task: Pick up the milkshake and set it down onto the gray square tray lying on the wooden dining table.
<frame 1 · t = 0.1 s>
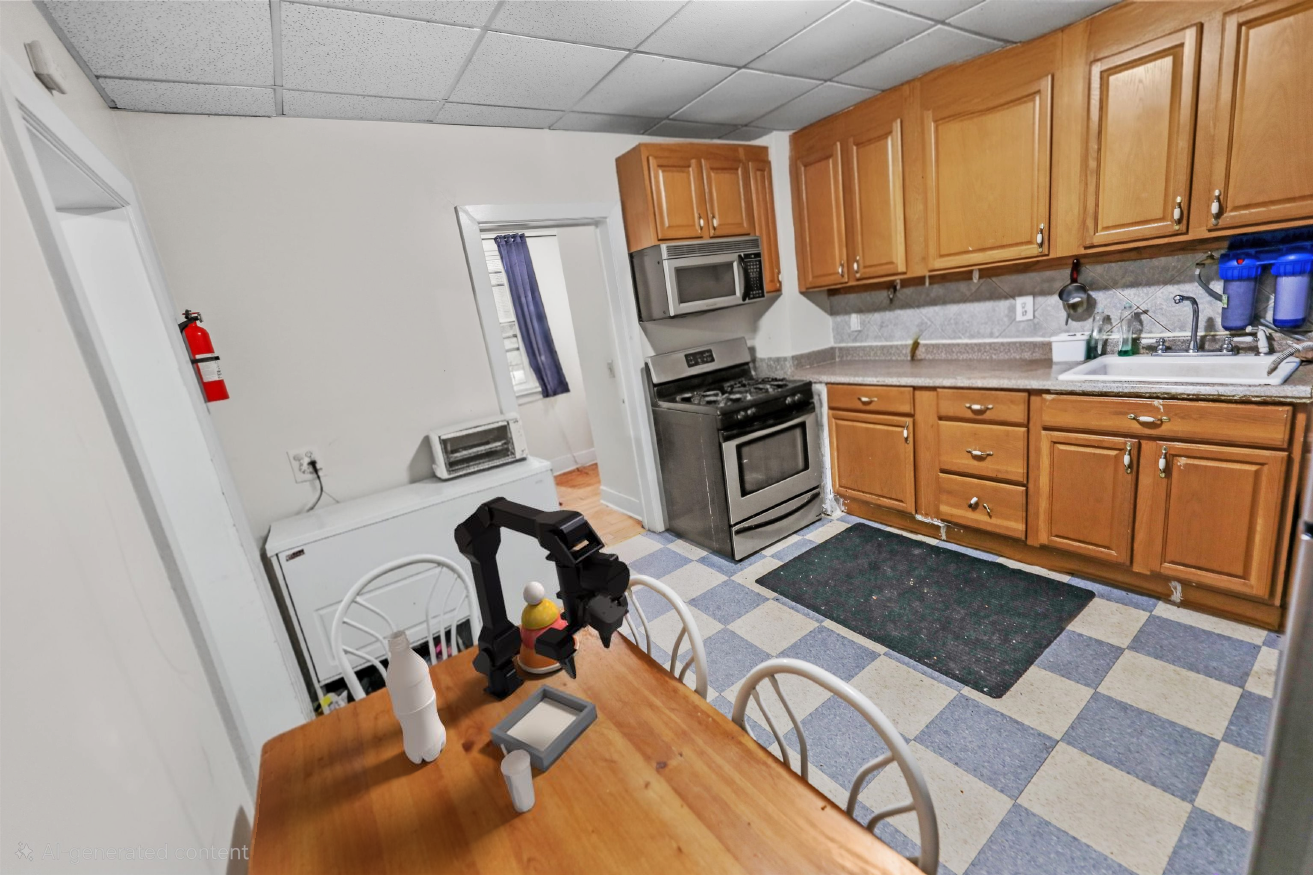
hand: (590, 662, 97), 15 cm above the table, fingers open, 9 cm apart
water bottle: (429, 753, 101), on the table
gray square tray: (546, 730, 102), on the table
stacking toy: (550, 658, 125), on the table
milkshake: (523, 803, 88), on the table
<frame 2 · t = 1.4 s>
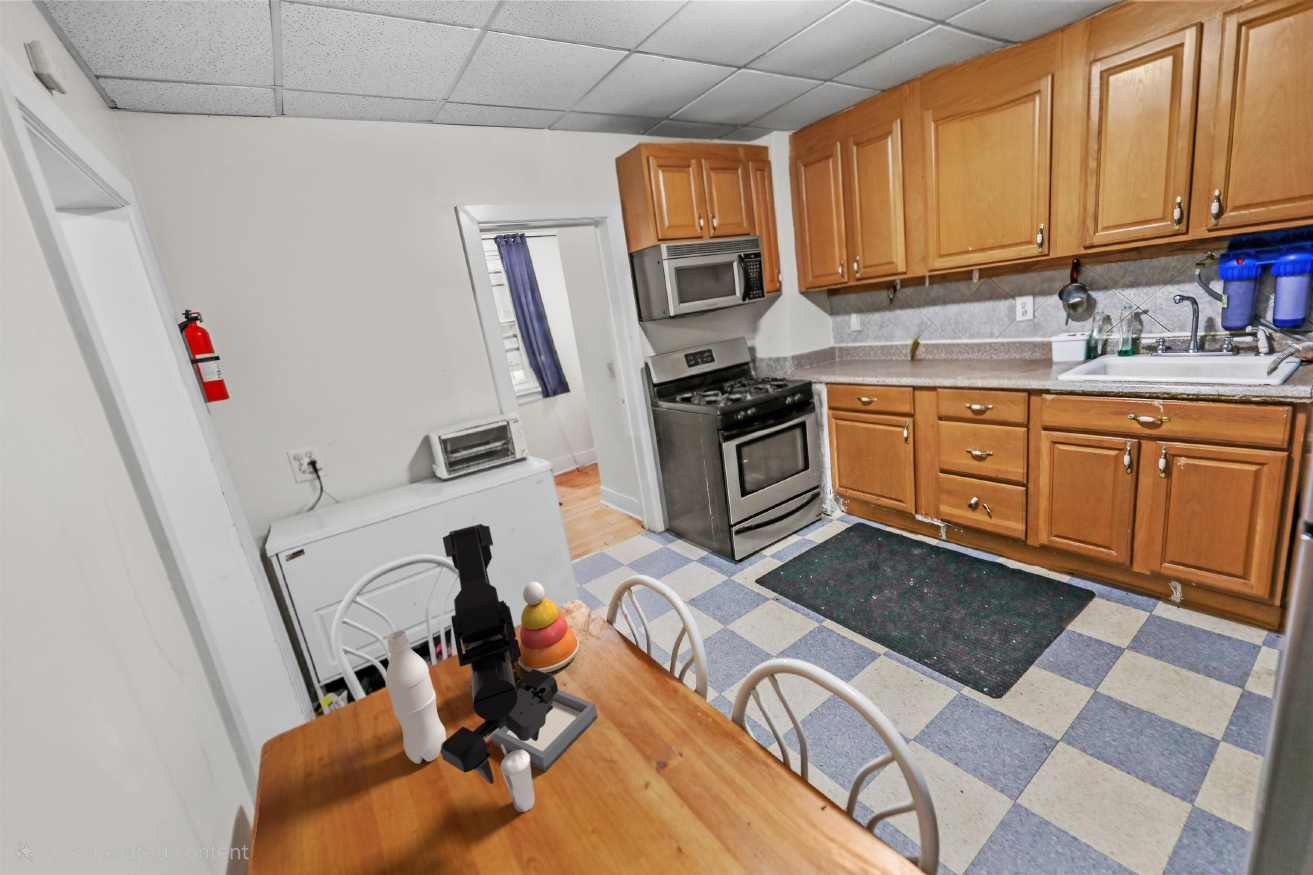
hand: (513, 760, 86), 8 cm above the table, fingers open, 9 cm apart
nothing on the table moved.
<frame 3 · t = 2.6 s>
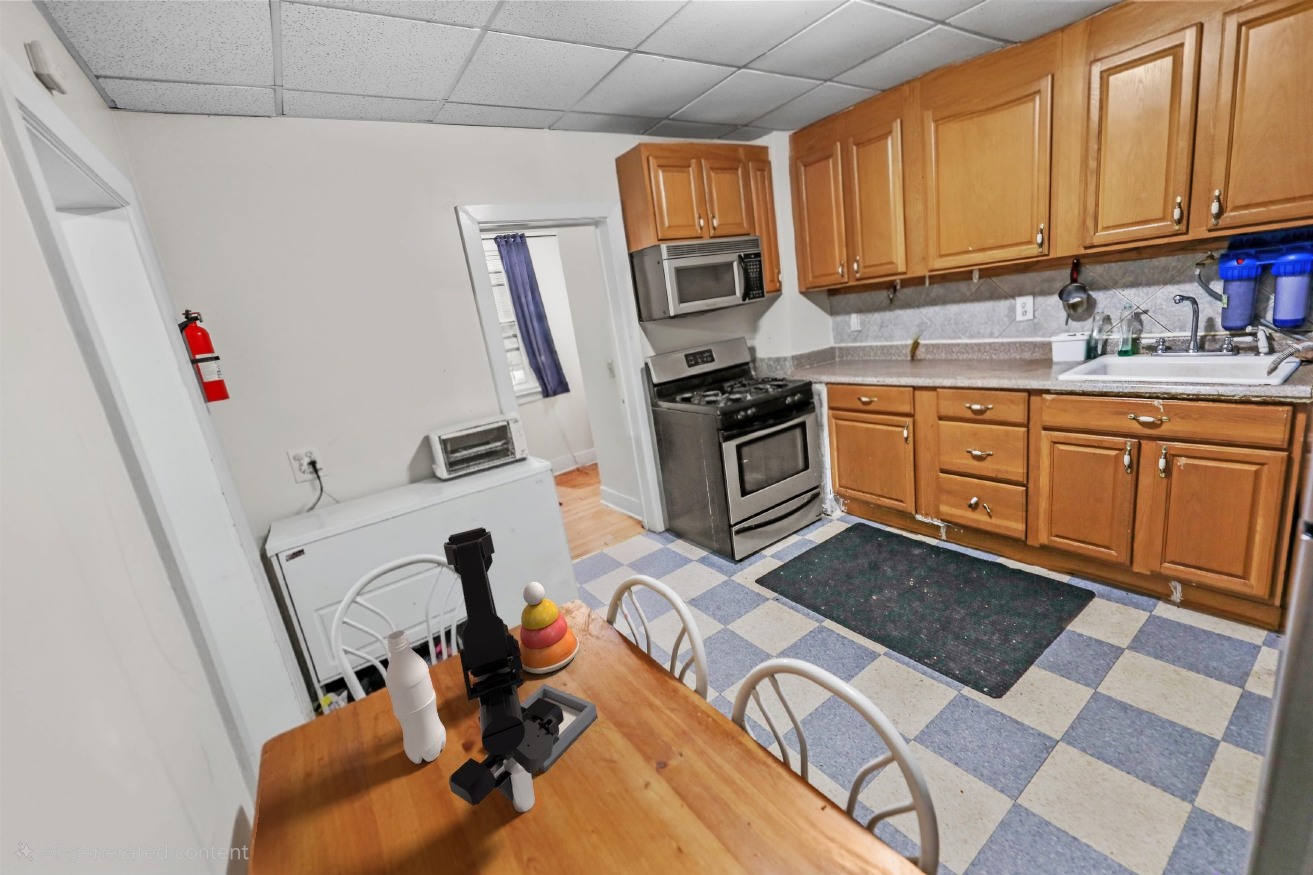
hand: (520, 789, 87), 3 cm above the table, fingers closed on milkshake, 4 cm apart
milkshake: (523, 803, 88), on the table, touching gripper
everything else where it was.
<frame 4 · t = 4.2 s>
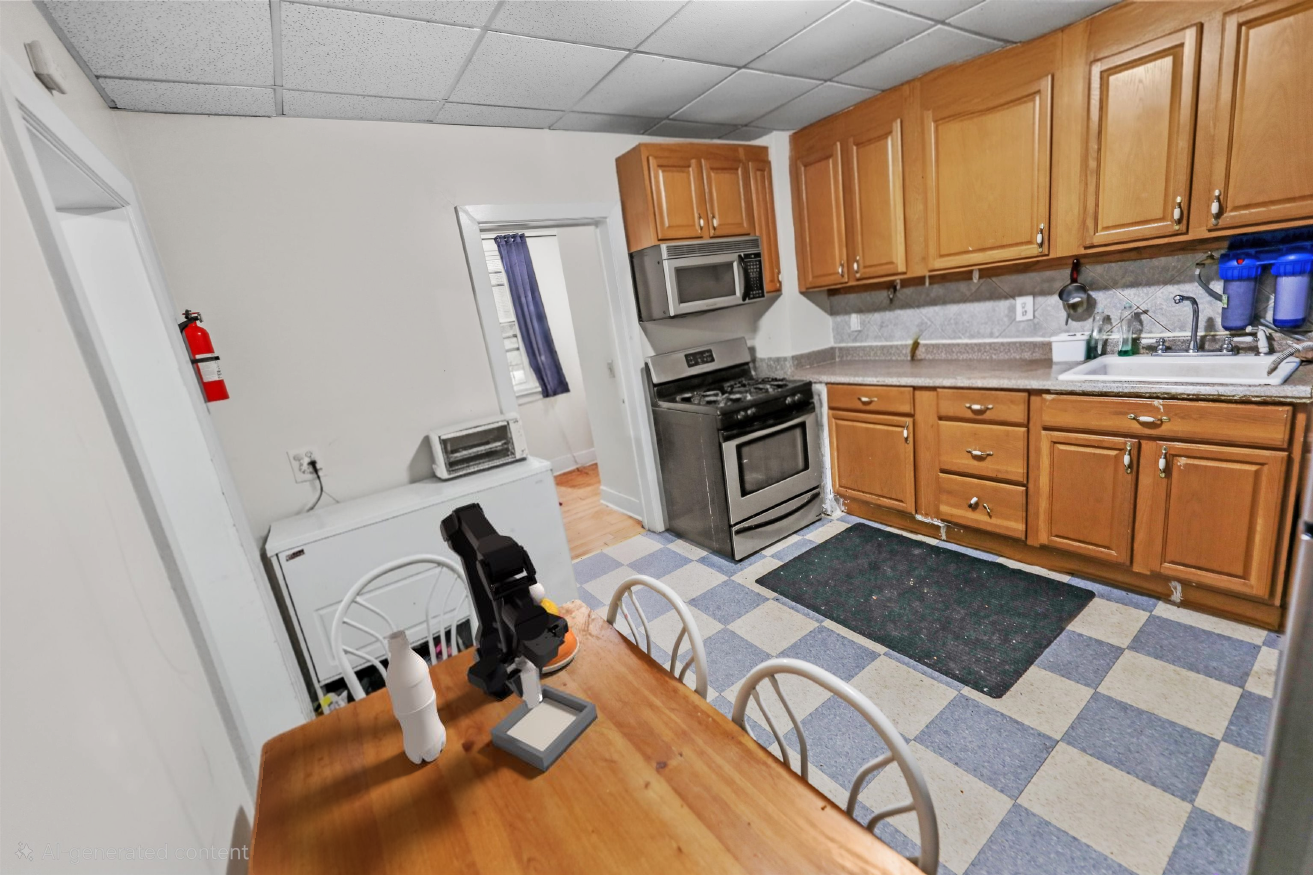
hand: (529, 689, 97), 11 cm above the table, fingers closed on milkshake, 4 cm apart
milkshake: (532, 701, 98), point 9 cm above the table, touching gripper
everything else where it was.
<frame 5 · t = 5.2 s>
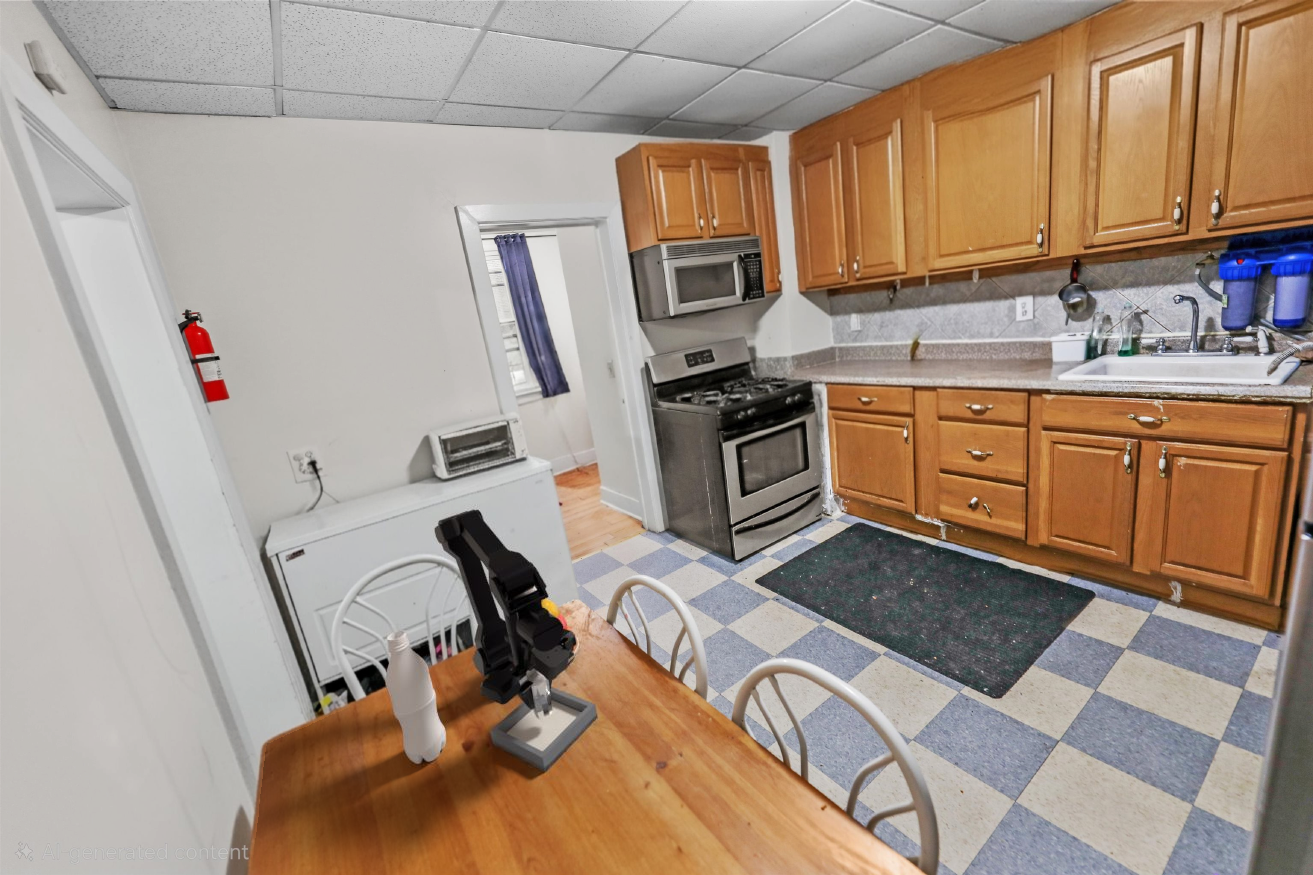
hand: (539, 701, 101), 6 cm above the table, fingers closed on milkshake, 4 cm apart
milkshake: (543, 713, 102), point 4 cm above the table, touching gripper
everything else where it was.
when the fingers open (4 cm above the table, at t = 5.8 s): milkshake stays where it is, resting on gray square tray.
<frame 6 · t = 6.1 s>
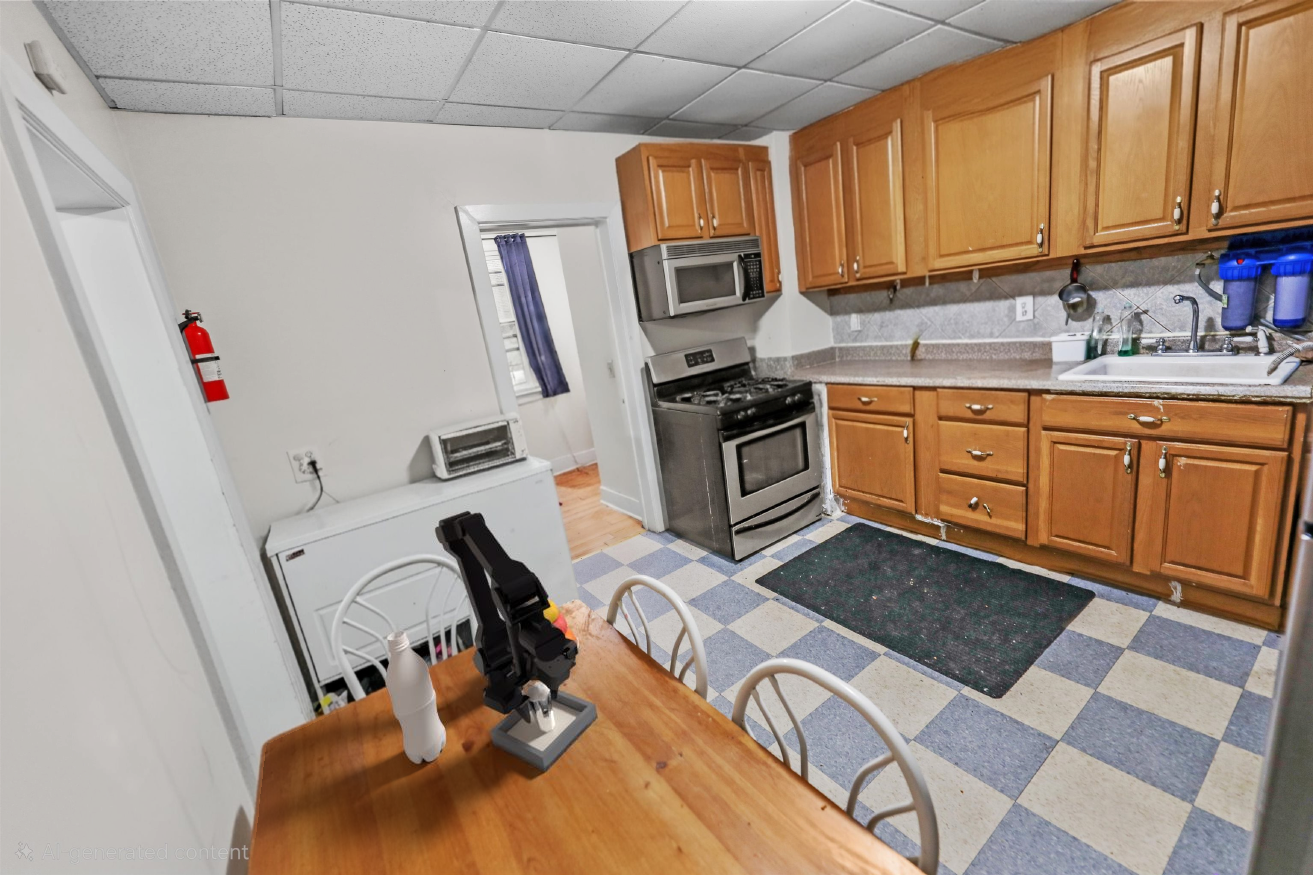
hand: (541, 710, 101), 4 cm above the table, fingers open, 6 cm apart
milkshake: (545, 726, 102), point 1 cm above the table, touching gray square tray
everything else where it was.
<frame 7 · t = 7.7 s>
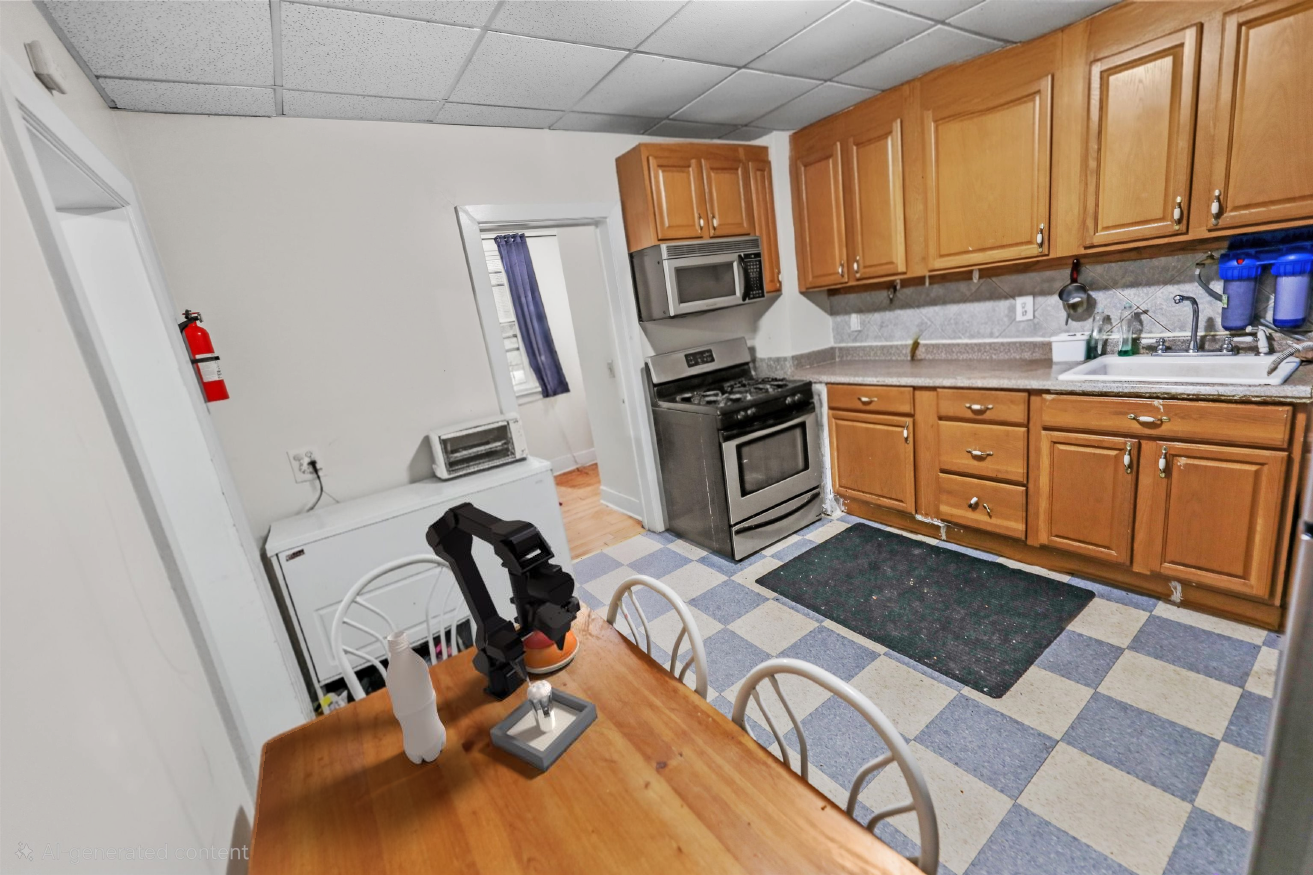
hand: (543, 663, 103), 12 cm above the table, fingers open, 9 cm apart
nothing on the table moved.
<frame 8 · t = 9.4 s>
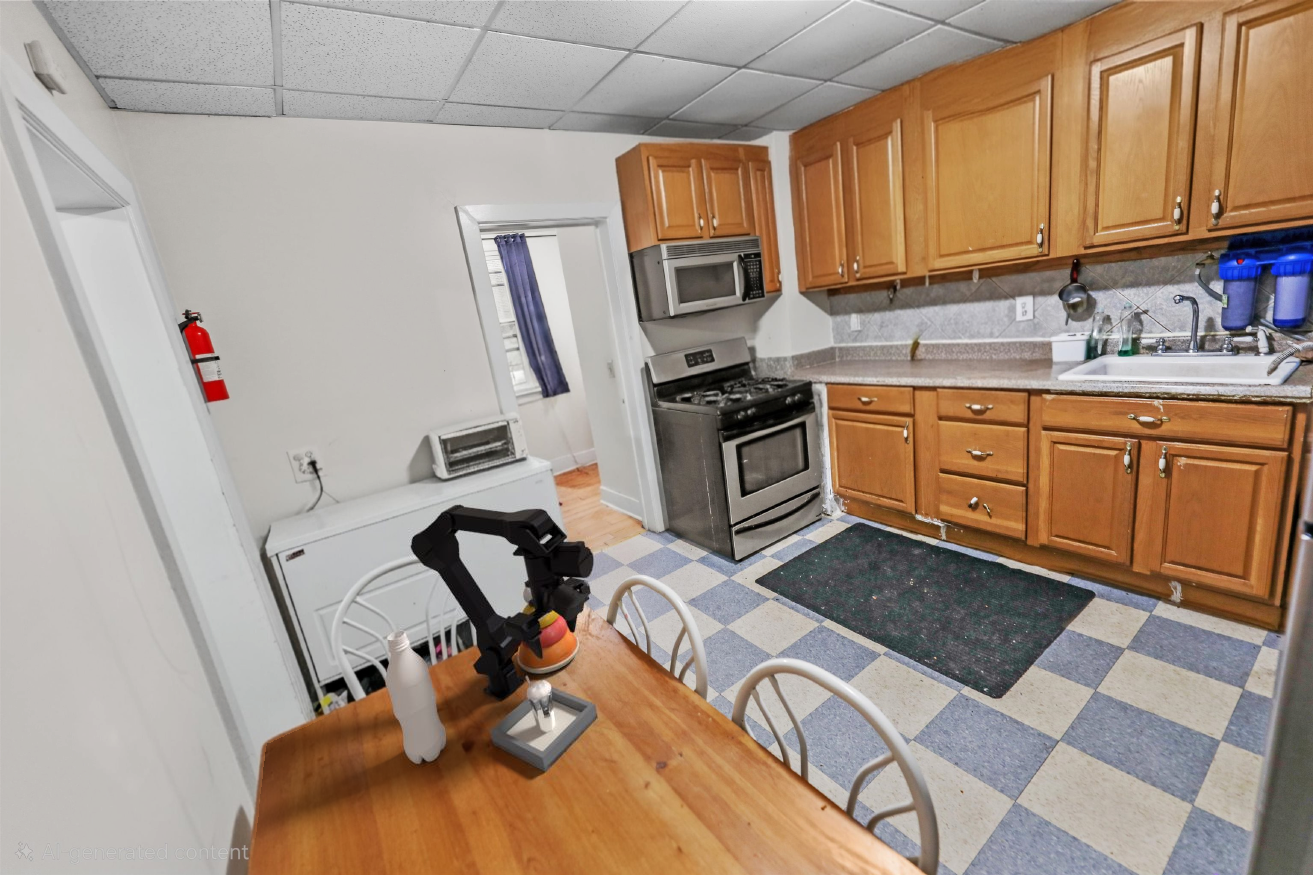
hand: (556, 644, 108), 12 cm above the table, fingers open, 9 cm apart
nothing on the table moved.
at the end: milkshake inside the target area on the gray square tray (0.0 cm from its centre), point 0.8 cm above the gray square tray's base; the gripper is holding nothing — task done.
